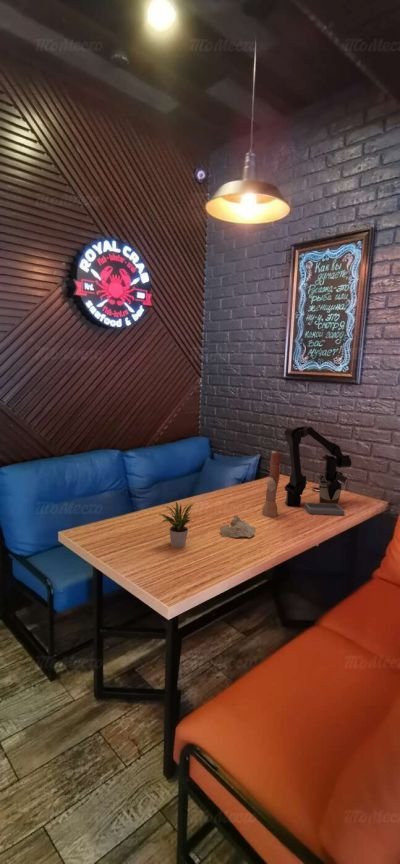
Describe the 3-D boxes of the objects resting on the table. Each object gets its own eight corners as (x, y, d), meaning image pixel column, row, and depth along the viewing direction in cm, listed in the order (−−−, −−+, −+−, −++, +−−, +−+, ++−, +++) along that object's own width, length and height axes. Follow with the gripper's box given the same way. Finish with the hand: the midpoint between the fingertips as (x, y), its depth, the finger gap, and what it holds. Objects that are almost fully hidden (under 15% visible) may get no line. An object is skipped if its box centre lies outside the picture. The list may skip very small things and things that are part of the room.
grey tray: (309, 514, 202) (309, 509, 202) (303, 507, 213) (303, 502, 212) (343, 515, 203) (344, 510, 202) (336, 508, 213) (336, 503, 213)
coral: (224, 542, 165) (225, 529, 164) (211, 527, 180) (211, 515, 179) (266, 538, 170) (267, 526, 170) (249, 524, 185) (250, 513, 185)
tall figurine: (270, 518, 194) (275, 453, 190) (257, 514, 199) (262, 450, 195) (283, 513, 201) (288, 451, 197) (271, 509, 206) (275, 448, 202)
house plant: (178, 533, 170) (180, 493, 168) (205, 543, 161) (207, 501, 159) (152, 543, 159) (154, 501, 157) (180, 554, 150) (182, 510, 148)
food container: (338, 501, 225) (340, 483, 224) (341, 505, 219) (342, 486, 218) (314, 500, 226) (316, 481, 225) (316, 503, 220) (318, 484, 219)
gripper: (353, 472, 211) (350, 503, 213) (340, 464, 230) (337, 492, 232) (330, 471, 211) (328, 502, 213) (319, 463, 229) (317, 491, 231)
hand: (328, 497), depth 222 cm, fingers open, 9 cm apart
